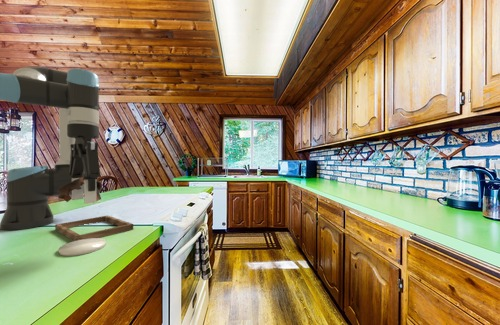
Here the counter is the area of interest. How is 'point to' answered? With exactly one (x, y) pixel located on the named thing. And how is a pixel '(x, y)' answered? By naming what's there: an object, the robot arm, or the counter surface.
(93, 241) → the white dome
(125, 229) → the walnut frame
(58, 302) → the counter surface
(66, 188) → the brown hollow round piece
